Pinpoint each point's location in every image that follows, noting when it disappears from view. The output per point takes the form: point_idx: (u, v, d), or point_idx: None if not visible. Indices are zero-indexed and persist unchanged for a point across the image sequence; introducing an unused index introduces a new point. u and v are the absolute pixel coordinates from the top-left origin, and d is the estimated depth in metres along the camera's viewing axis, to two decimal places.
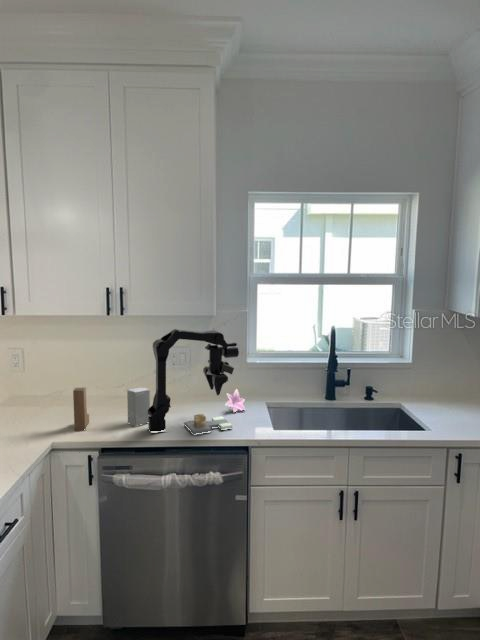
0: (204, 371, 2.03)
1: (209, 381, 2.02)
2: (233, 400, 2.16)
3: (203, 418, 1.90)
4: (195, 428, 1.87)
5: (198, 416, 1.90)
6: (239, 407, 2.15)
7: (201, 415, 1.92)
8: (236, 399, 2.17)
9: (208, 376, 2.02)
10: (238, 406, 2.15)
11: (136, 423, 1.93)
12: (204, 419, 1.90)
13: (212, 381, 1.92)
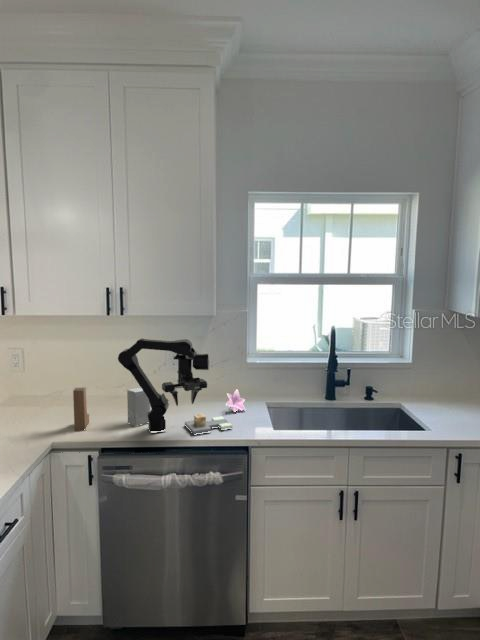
0: None
1: (191, 394, 1.90)
2: (233, 400, 2.16)
3: (203, 418, 1.90)
4: (195, 428, 1.87)
5: (198, 416, 1.90)
6: (239, 407, 2.15)
7: (201, 415, 1.92)
8: (236, 399, 2.17)
9: None
10: (239, 406, 2.15)
11: (136, 423, 1.93)
12: (204, 419, 1.90)
13: None
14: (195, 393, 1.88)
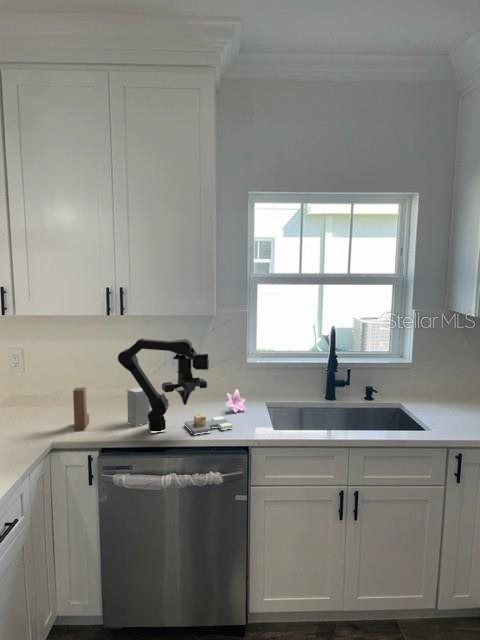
0: None
1: None
2: (233, 400, 2.16)
3: (203, 418, 1.90)
4: (195, 428, 1.87)
5: (198, 416, 1.90)
6: (239, 407, 2.15)
7: (201, 415, 1.92)
8: (236, 399, 2.17)
9: None
10: (239, 406, 2.15)
11: (136, 423, 1.93)
12: (204, 419, 1.90)
13: None
14: (188, 394, 1.86)
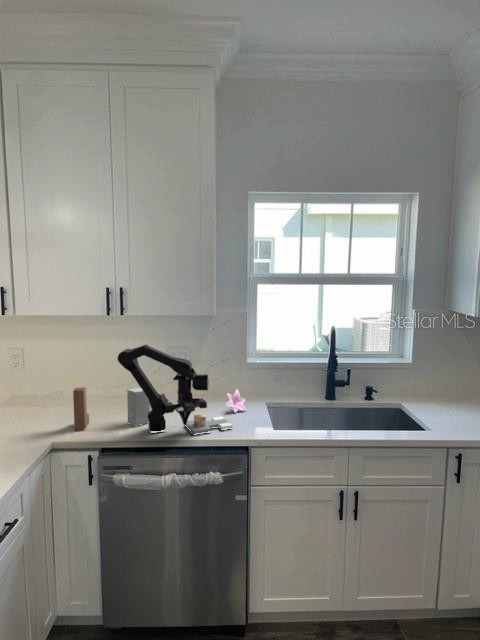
0: None
1: None
2: (234, 400, 2.16)
3: (203, 418, 1.90)
4: (195, 428, 1.87)
5: (198, 416, 1.90)
6: (240, 407, 2.15)
7: (201, 415, 1.92)
8: (237, 399, 2.17)
9: None
10: (239, 406, 2.15)
11: (136, 423, 1.93)
12: (204, 419, 1.90)
13: None
14: (188, 414, 1.87)
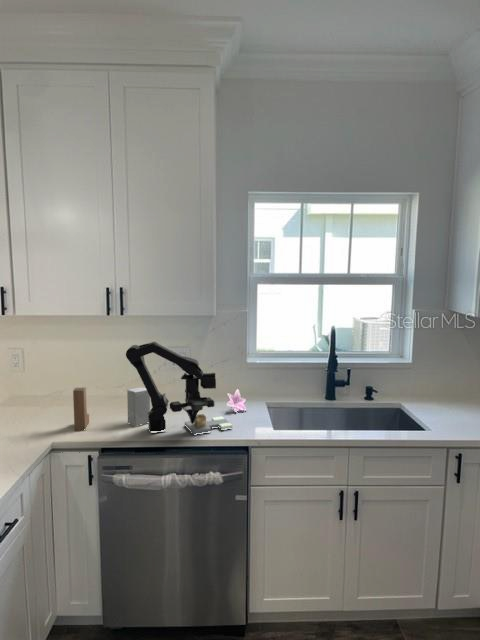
0: None
1: (191, 413, 1.91)
2: (234, 400, 2.16)
3: (203, 418, 1.90)
4: (195, 428, 1.87)
5: (198, 416, 1.90)
6: (240, 407, 2.15)
7: (201, 415, 1.92)
8: (237, 399, 2.17)
9: None
10: (239, 406, 2.15)
11: (136, 423, 1.93)
12: (204, 419, 1.90)
13: None
14: (195, 413, 1.89)
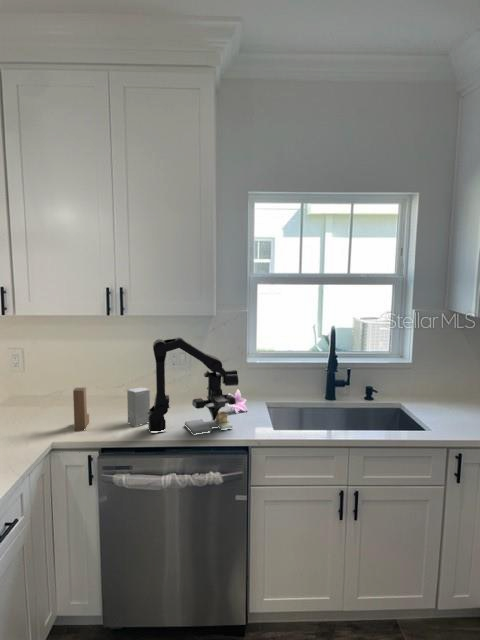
0: None
1: None
2: None
3: (225, 415, 1.94)
4: (195, 428, 1.87)
5: (220, 413, 1.95)
6: (241, 407, 2.15)
7: (222, 412, 1.96)
8: (238, 399, 2.17)
9: (213, 405, 1.95)
10: (240, 406, 2.15)
11: (136, 423, 1.93)
12: (226, 416, 1.95)
13: None
14: (217, 410, 1.93)
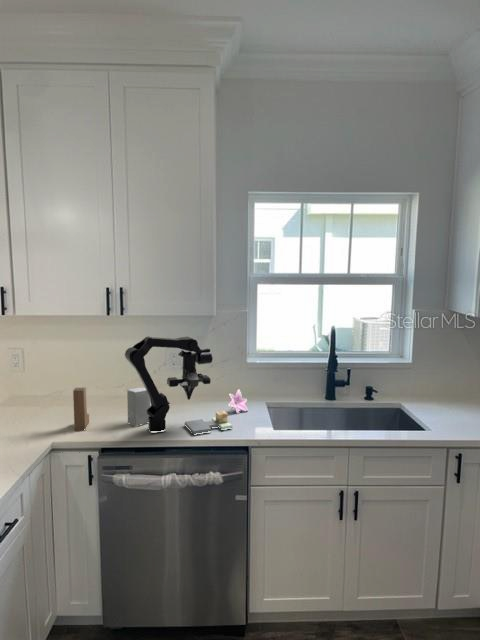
0: None
1: None
2: (235, 400, 2.16)
3: (225, 415, 1.94)
4: (195, 428, 1.87)
5: (220, 413, 1.95)
6: (242, 407, 2.15)
7: (222, 412, 1.96)
8: (238, 399, 2.17)
9: None
10: (241, 406, 2.15)
11: (136, 423, 1.93)
12: (226, 416, 1.95)
13: None
14: (191, 389, 1.94)
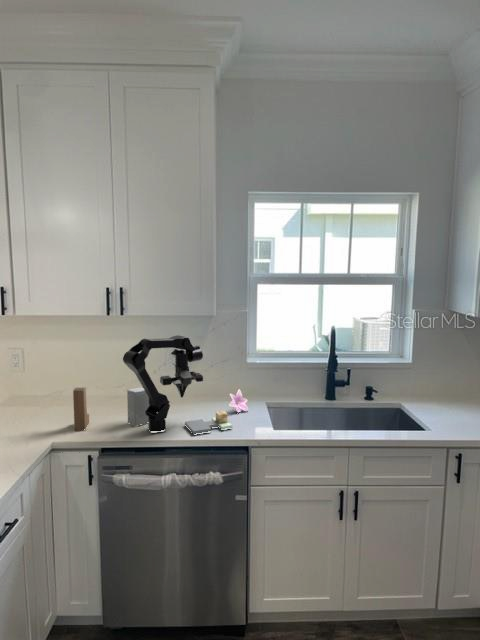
0: None
1: None
2: (236, 400, 2.16)
3: (225, 415, 1.94)
4: (195, 428, 1.87)
5: (220, 413, 1.95)
6: (242, 407, 2.15)
7: (222, 412, 1.96)
8: (239, 399, 2.17)
9: (182, 382, 1.99)
10: (241, 406, 2.15)
11: (136, 423, 1.93)
12: (226, 416, 1.95)
13: None
14: (185, 387, 1.96)
